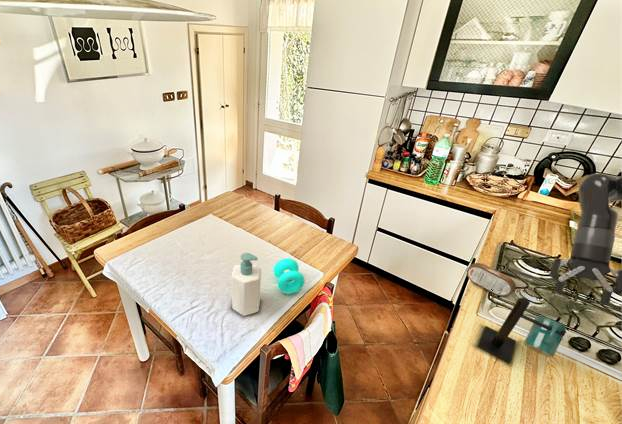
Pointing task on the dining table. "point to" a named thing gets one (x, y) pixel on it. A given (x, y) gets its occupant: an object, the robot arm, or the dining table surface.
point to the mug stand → (507, 333)
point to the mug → (544, 337)
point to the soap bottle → (246, 286)
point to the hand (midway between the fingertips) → (580, 299)
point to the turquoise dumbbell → (288, 276)
